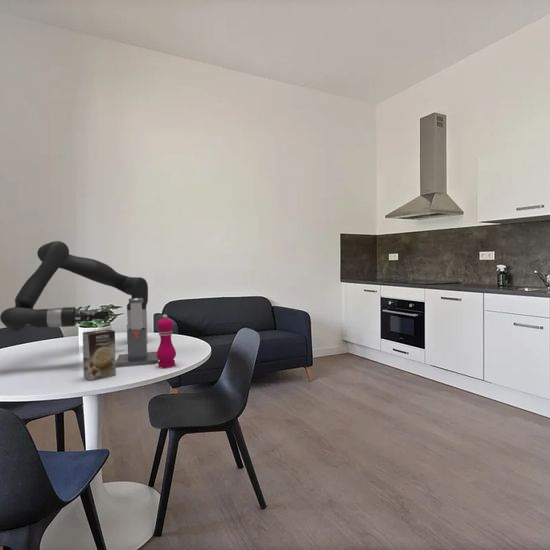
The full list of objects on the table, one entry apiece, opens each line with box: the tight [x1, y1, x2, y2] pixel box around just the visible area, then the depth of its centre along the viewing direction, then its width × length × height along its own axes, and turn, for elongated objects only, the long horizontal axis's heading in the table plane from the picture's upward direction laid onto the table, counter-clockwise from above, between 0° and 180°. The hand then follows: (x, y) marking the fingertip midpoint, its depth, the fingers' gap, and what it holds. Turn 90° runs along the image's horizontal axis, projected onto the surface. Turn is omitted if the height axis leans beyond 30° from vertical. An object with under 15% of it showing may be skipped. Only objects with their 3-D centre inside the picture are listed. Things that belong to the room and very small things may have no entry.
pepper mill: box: [156, 314, 177, 369], centre depth 152 cm, size 7×7×20 cm
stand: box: [116, 327, 159, 368], centre depth 162 cm, size 16×16×13 cm
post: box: [128, 298, 143, 331], centre depth 161 cm, size 6×6×24 cm
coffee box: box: [82, 329, 117, 381], centre depth 140 cm, size 9×6×16 cm
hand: (106, 315), depth 158 cm, fingers open, 8 cm apart
